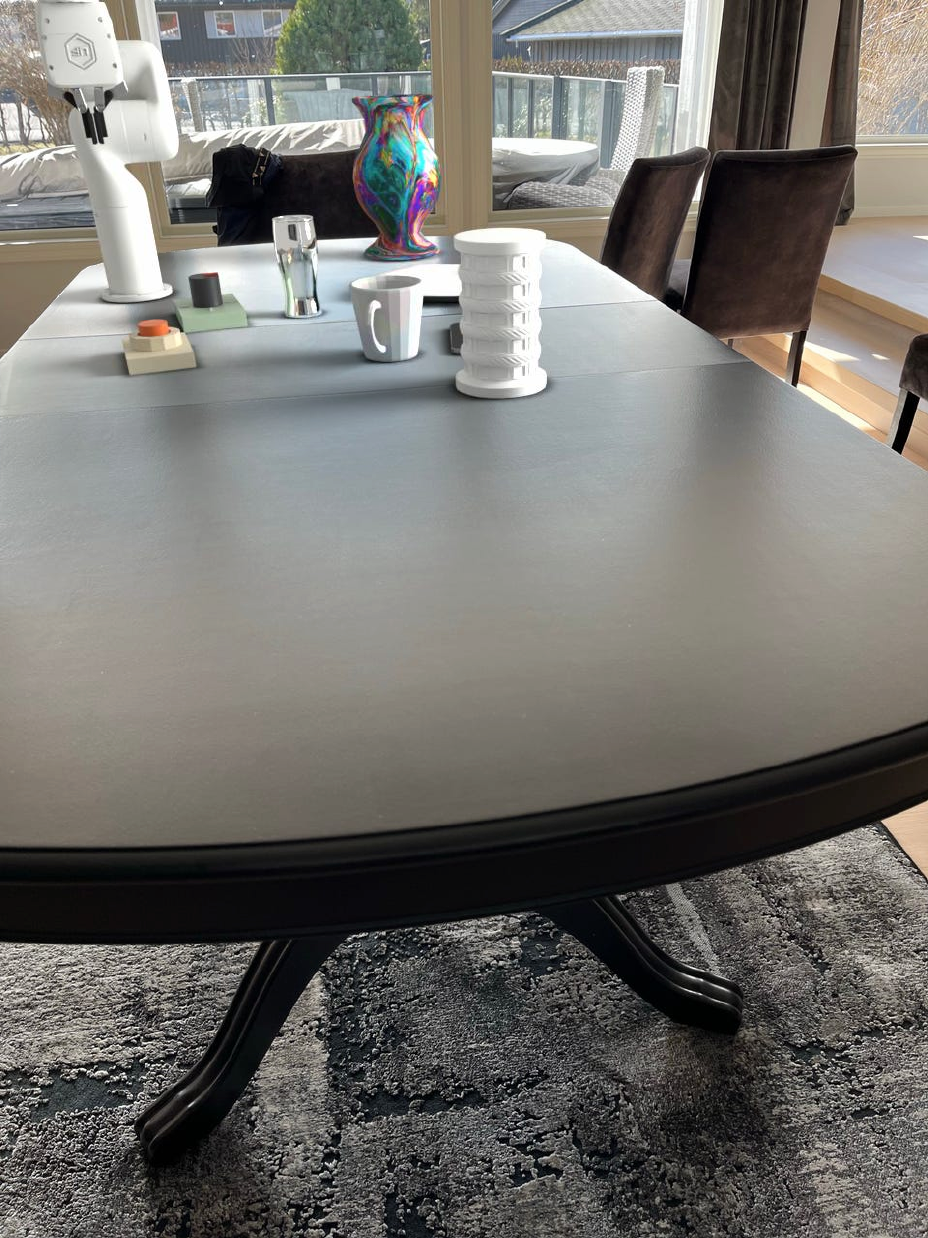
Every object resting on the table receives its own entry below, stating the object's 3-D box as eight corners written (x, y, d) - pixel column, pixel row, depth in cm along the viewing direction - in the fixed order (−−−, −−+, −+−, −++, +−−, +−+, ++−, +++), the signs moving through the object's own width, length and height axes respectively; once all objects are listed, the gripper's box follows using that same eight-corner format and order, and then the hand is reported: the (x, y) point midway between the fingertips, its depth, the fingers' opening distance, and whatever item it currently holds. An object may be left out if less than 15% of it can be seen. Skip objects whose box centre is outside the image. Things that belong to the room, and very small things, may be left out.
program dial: (195, 308, 152) (189, 277, 150) (191, 302, 156) (186, 272, 154) (225, 305, 154) (220, 274, 151) (220, 299, 158) (215, 269, 155)
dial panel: (175, 314, 161) (172, 298, 159) (234, 308, 163) (232, 292, 162) (184, 333, 149) (181, 315, 148) (247, 325, 152) (245, 309, 151)
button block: (125, 354, 139) (119, 326, 137) (187, 346, 142) (182, 319, 140) (129, 375, 129) (123, 346, 127) (196, 367, 132) (191, 338, 130)
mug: (435, 346, 138) (432, 274, 133) (409, 375, 126) (404, 298, 120) (366, 344, 140) (361, 273, 135) (334, 373, 127) (327, 296, 122)
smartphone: (451, 349, 133) (449, 322, 146) (451, 354, 134) (449, 327, 147) (505, 347, 133) (499, 321, 146) (505, 352, 134) (499, 325, 147)
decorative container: (438, 390, 119) (432, 239, 110) (485, 367, 128) (482, 225, 119) (518, 403, 114) (518, 245, 105) (561, 378, 122) (565, 230, 113)
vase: (457, 249, 207) (453, 92, 192) (420, 264, 193) (412, 97, 177) (384, 245, 214) (374, 94, 198) (343, 260, 200) (328, 98, 184)
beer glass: (316, 319, 155) (305, 220, 147) (276, 318, 156) (263, 220, 148) (329, 309, 160) (320, 214, 153) (291, 308, 162) (280, 214, 154)
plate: (341, 301, 165) (340, 289, 164) (406, 271, 187) (405, 261, 186) (484, 310, 156) (483, 298, 155) (535, 278, 178) (535, 267, 177)
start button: (139, 333, 135) (136, 321, 134) (168, 330, 136) (165, 318, 135) (141, 340, 132) (138, 327, 131) (170, 336, 133) (168, 324, 132)
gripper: (6, -11, 121) (42, 148, 131) (126, -12, 125) (154, 142, 135) (8, -7, 127) (43, 144, 137) (123, -8, 132) (150, 139, 141)
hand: (98, 143), depth 136 cm, fingers closed
